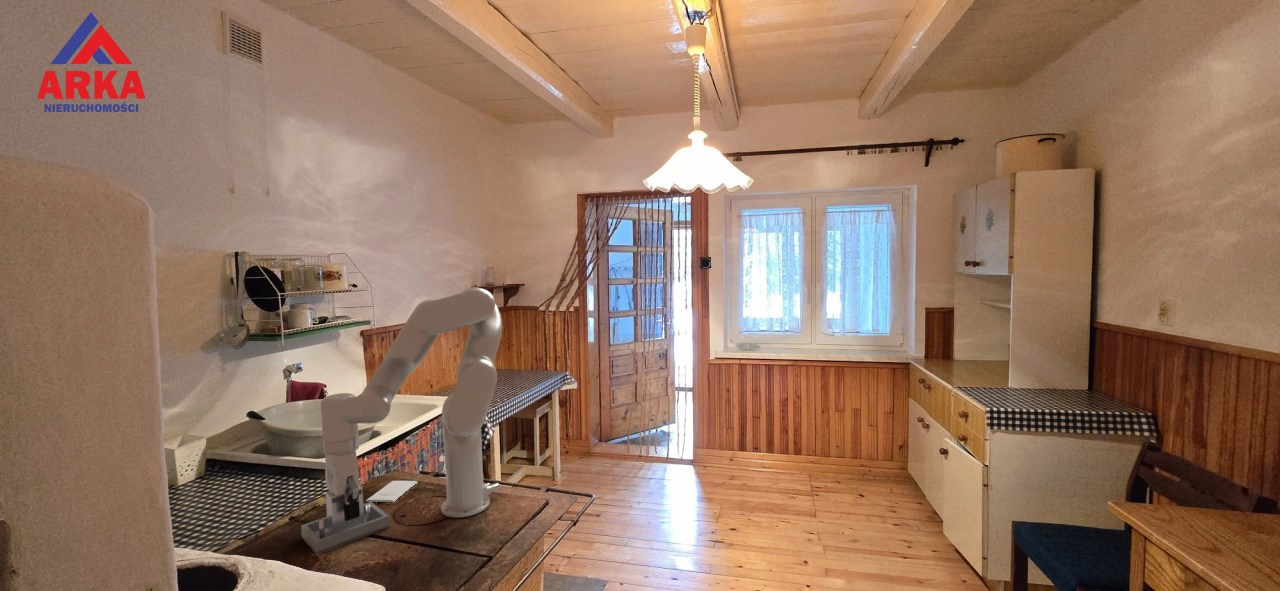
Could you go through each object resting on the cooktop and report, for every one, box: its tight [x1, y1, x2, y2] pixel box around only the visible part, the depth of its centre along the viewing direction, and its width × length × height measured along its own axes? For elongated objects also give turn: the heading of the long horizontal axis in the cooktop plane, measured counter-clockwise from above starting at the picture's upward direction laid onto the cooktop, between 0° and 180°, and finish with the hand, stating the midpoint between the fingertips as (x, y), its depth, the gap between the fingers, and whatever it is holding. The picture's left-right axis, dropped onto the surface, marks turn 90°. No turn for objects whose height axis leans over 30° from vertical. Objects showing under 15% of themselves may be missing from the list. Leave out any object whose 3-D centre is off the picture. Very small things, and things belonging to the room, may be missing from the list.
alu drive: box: [325, 484, 364, 535], centre depth 124 cm, size 7×4×10 cm, turn 138°
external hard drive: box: [365, 480, 418, 504], centre depth 146 cm, size 2×8×12 cm
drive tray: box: [300, 502, 391, 556], centre depth 124 cm, size 16×12×5 cm
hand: (345, 512), depth 124 cm, fingers open, 9 cm apart
